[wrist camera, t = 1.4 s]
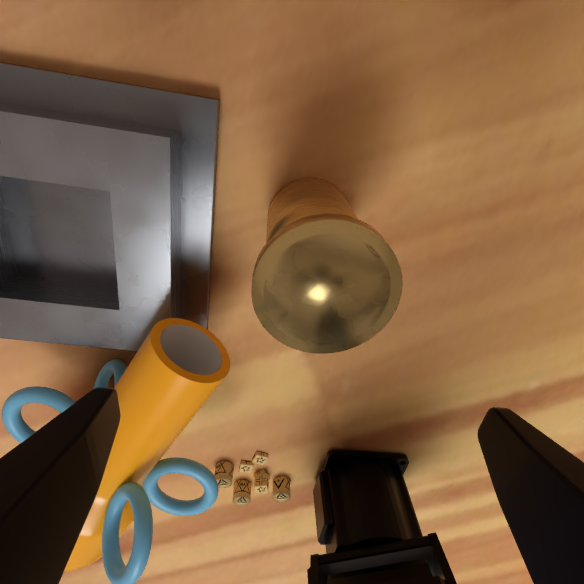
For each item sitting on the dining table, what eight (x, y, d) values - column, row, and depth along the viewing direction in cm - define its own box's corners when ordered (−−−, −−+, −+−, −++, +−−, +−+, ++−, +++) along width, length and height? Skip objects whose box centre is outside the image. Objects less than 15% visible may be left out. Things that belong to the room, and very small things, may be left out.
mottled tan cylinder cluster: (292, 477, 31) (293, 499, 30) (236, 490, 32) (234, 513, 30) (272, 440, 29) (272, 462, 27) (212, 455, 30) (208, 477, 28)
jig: (220, 99, 17) (209, 102, 14) (206, 344, 23) (198, 377, 21) (-123, 41, 15) (-205, 32, 13) (-32, 321, 22) (-74, 353, 19)
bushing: (368, 178, 19) (422, 233, 12) (345, 269, 21) (379, 359, 14) (266, 162, 18) (260, 210, 11) (255, 258, 21) (244, 346, 14)
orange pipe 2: (-27, 430, 23) (62, 239, 17) (139, 427, 30) (238, 290, 24) (-68, 699, 15) (70, 497, 10) (171, 607, 22) (326, 462, 17)
